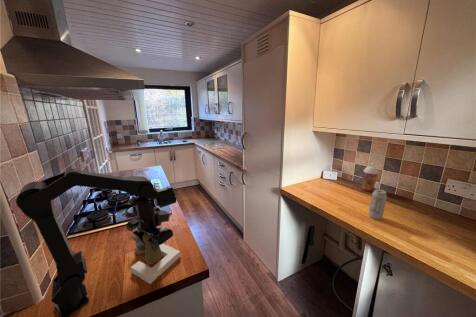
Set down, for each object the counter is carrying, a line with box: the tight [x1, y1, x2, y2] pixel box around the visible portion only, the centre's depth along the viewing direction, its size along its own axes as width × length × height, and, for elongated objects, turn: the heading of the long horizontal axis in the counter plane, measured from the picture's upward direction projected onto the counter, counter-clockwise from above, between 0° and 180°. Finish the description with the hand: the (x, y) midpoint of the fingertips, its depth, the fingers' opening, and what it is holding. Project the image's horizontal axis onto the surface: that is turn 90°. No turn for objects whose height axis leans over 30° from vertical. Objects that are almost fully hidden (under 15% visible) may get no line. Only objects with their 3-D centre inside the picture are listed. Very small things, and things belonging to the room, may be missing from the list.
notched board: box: [130, 243, 181, 285], centre depth 73 cm, size 14×10×2 cm
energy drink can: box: [368, 188, 388, 221], centre depth 100 cm, size 6×6×15 cm
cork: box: [143, 233, 163, 265], centre depth 72 cm, size 6×6×11 cm
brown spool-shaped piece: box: [131, 233, 145, 256], centre depth 81 cm, size 7×7×8 cm
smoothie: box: [361, 161, 379, 193], centre depth 131 cm, size 8×8×20 cm
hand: (152, 248), depth 72 cm, fingers closed on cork, 4 cm apart
